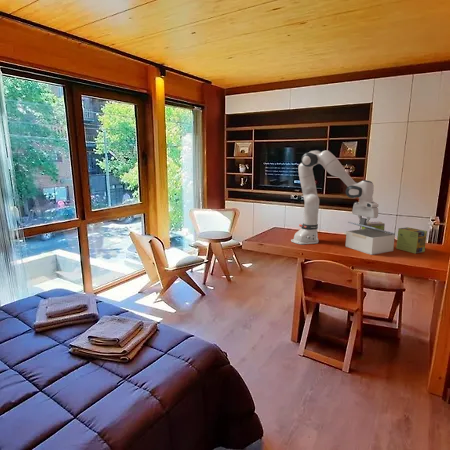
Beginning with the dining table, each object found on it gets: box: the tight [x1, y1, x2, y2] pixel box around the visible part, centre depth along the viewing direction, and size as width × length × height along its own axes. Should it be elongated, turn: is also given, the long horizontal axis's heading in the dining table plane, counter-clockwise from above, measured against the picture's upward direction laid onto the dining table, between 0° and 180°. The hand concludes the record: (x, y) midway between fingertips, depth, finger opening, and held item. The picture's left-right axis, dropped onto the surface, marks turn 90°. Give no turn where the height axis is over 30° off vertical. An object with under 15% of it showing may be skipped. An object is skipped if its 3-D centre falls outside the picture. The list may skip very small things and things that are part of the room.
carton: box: [345, 228, 396, 256], centre depth 240 cm, size 22×24×12 cm
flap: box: [347, 217, 396, 236], centre depth 238 cm, size 22×24×6 cm
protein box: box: [395, 226, 428, 254], centre depth 236 cm, size 10×15×16 cm
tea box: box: [361, 220, 385, 231], centre depth 266 cm, size 15×10×15 cm
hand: (363, 222), depth 234 cm, fingers closed on flap, 4 cm apart
